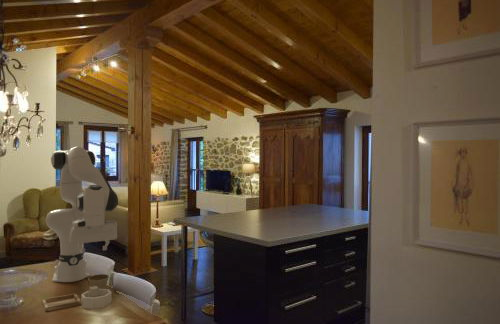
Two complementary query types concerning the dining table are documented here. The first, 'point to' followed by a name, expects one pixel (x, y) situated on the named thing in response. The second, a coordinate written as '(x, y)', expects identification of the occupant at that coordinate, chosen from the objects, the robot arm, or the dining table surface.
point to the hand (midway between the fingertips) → (93, 251)
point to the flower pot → (98, 281)
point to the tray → (61, 302)
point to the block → (94, 291)
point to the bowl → (96, 299)
